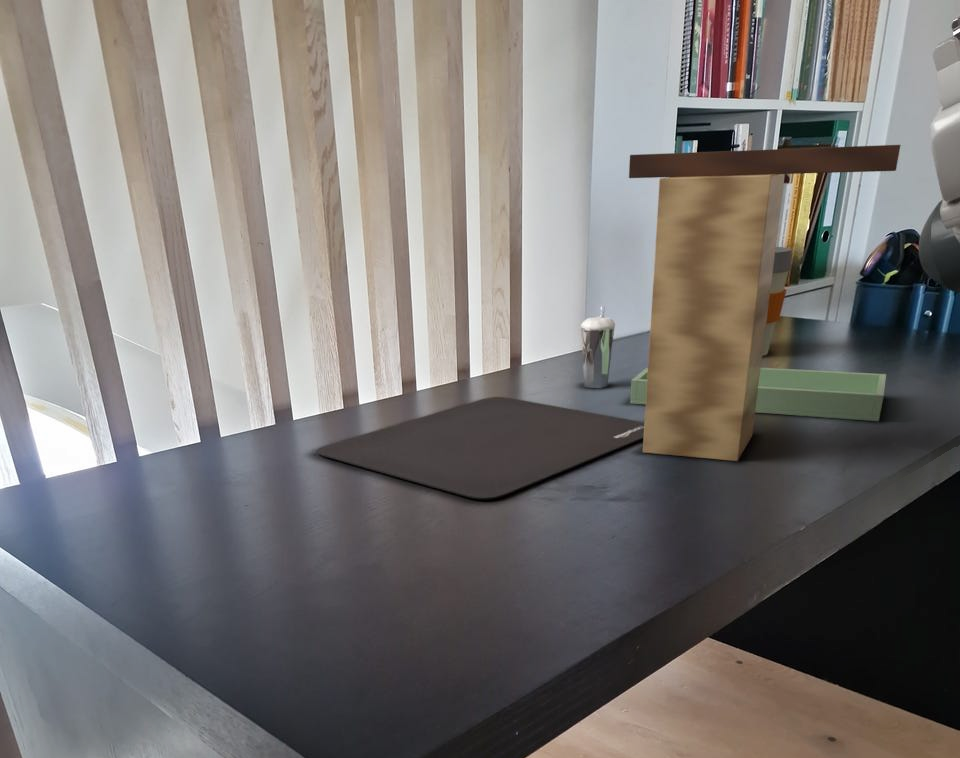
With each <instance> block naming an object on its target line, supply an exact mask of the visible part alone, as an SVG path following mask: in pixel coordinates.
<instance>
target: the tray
mask: <svg viewBox="0 0 960 758" xmlns="http://www.w3.org/2000/svg"><path fill="white" fill-rule="evenodd" d="M647 374H648V366H647V367H645V368H644V369H643V370H642V371H641V372H640V373H638V374H637V375H636V376H635V377H634V378H632V379H631V383H630V401H629V402H630V404H631V405H643V406H646V390H647ZM886 382H887V374H886V373H870V372H850V371H834V370H816V369H815V370H813V369H796V368H795V369H794V368H777V367H776V368H775V367H761V369H760V377H759V385H758V393H757V401H756V409H755V414H756V413H758V414H769V415H771V414H773V415H783V416H784V415H785V416H799V417H813V418H826V419H827V418H829V419H840V420H841V419H842V420H855V421H867V422H868V421H869V422H879V421H880V417H881V411H882V406H883V403H884V402H883V401H884V397H885V390H886Z"/></svg>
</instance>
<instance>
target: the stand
mask: <svg viewBox="0 0 960 758" xmlns="http://www.w3.org/2000/svg"><path fill="white" fill-rule="evenodd" d="M785 176H786V174H765V175H729V176H692V177H659V182H658V198H657V199H658V200H657V213H656V214H657V216H656V228H655V229H656V231H655V249H654V261H653V262H654V263H653V278H652V279H653V280H652V295H651V299H652V300H651V311H650V313H651V314H650V327H649V328H650V329H649V345H648V358H647V360H648V361H647V367H648V374H647V390H646V405H645V407H644V408H645V410H644V438H643V439H642V441H643V443H642V453H645V454H653V455H665V456H676V457H686V458H687V457H688V458H697V459H698V458H699V459H708V460H720V461H728V462H729V461H731V462H738V461H739V459H740V458H741V456H742V455H743V452H744V450H745V449H746V447H747V445H748V444H749V443H750V440H751V438H752V436H753V432H754V425H755V418H756V417H755V416H756V413H755V409H756V401H757V393H758V385H759V377H760V369H761V368H762V360H763V356H762V353H763V345H764V337H765V329H766V321H767V313H768V305H769V297H770V289H771V281H772V273H773V265H774V257H775V248H776V247H777V240H778V232H779V224H780V216H781V207H782V200H783V191H784V185H785V184H784V182H785Z"/></svg>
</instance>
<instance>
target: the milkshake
mask: <svg viewBox="0 0 960 758" xmlns="http://www.w3.org/2000/svg"><path fill="white" fill-rule="evenodd" d="M604 316H605V306H600V316H596V317H588V318H585V320H583V322H581V323H580V331H581V333H580V334H581V344H582V347H581V349H582V369H583V372H582V373H583V386H584V387H586V388H588V389H603V388H607V387H608V386H609V377H610V368H611V361H612V360H611V359H612V358H611V357H612V351H613V350H612V349H613V342H614V334H615V328H616V323H615V321H614V320H613V319H612V318H611V317H604Z"/></svg>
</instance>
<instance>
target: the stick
mask: <svg viewBox="0 0 960 758" xmlns="http://www.w3.org/2000/svg"><path fill="white" fill-rule="evenodd" d="M900 150H901V144H879V145H857V146H855V145H854V146H853V145H851V146H829V147H827V146H826V147H801V148H776V149H775V148H774V149H772V148H771V149H751V150H750V149H746V150H722V151H721V150H720V151H719V150H718V151H699V152H698V151H696V152H672V153H671V152H669V153H667V152H666V153H645V154H643V153H642V154H641V153H640V154H630V155H629V165H628V166H629V167H628V178H629V179H651V178H653V179H655V178H667V177H692V176H729V175H765V174H785V175H794V174H795V175H797V174H801V175H802V174H834V173H835V174H836V173H869V172H870V173H871V172H872V173H875V172H896V171H897V168H898V162H899V157H900Z"/></svg>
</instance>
